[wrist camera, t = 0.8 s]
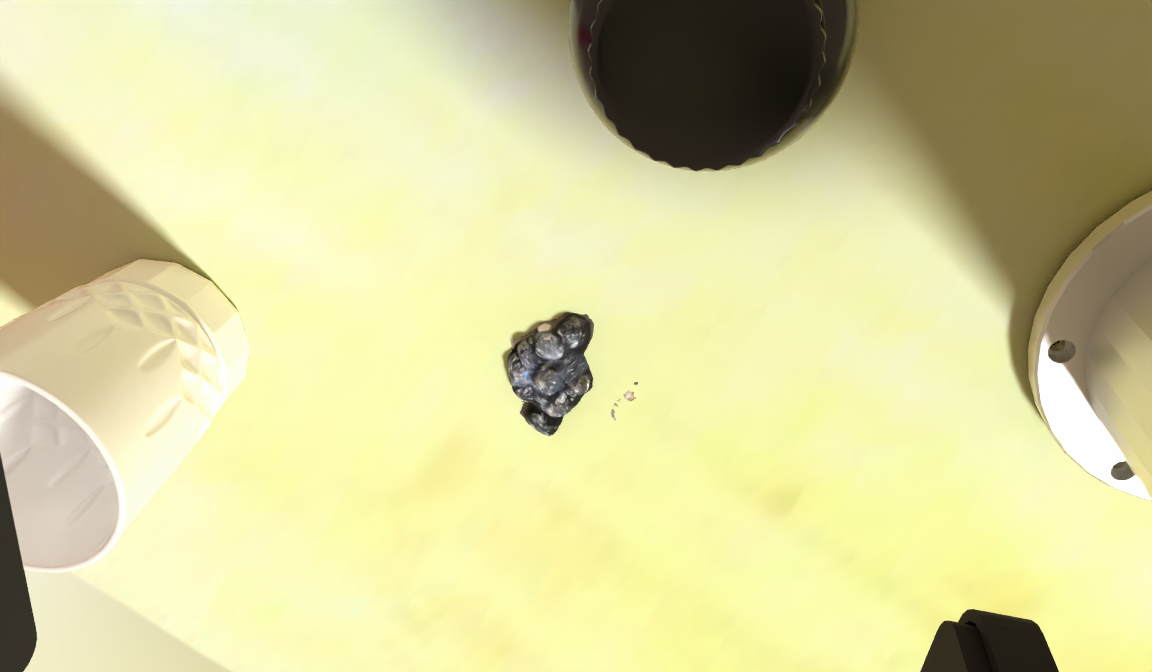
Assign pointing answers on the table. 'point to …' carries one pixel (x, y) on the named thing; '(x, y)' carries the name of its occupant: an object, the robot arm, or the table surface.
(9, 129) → the table surface
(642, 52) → the supplement bottle
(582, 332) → the blueberries
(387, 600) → the table surface
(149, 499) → the white cup
